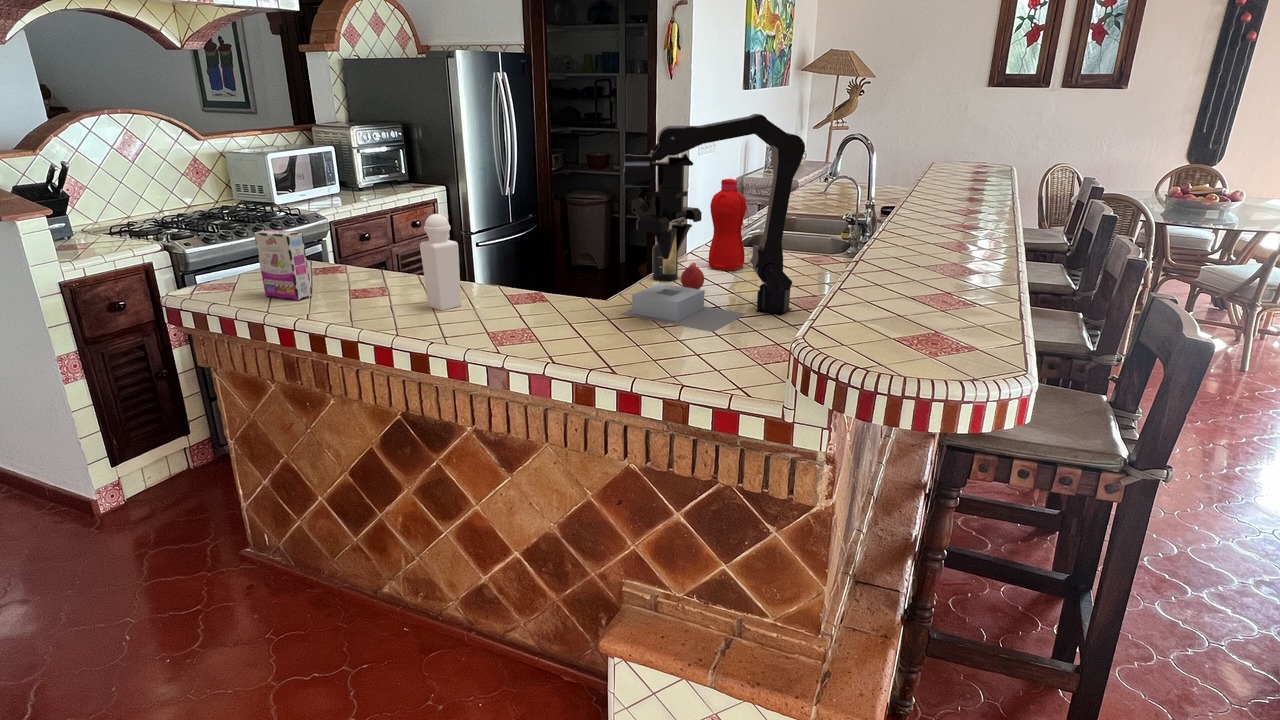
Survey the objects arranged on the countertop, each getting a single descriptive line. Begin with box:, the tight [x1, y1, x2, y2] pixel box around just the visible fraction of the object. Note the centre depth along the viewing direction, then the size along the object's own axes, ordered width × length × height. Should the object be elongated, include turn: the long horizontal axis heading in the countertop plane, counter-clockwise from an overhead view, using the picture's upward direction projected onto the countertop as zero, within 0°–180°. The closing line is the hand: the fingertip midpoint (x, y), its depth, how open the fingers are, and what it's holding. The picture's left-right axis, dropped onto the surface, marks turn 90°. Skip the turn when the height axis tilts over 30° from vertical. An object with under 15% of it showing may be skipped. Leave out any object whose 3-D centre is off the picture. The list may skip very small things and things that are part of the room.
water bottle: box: [707, 178, 750, 272], centre depth 209 cm, size 9×11×25 cm
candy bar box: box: [253, 229, 313, 301], centre depth 184 cm, size 11×5×16 cm, turn 68°
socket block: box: [631, 283, 705, 322], centre depth 170 cm, size 12×12×4 cm
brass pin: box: [663, 228, 677, 274], centre depth 166 cm, size 3×3×10 cm
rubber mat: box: [620, 305, 747, 333], centre depth 169 cm, size 24×16×1 cm, turn 56°
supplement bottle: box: [652, 237, 679, 282], centre depth 200 cm, size 7×7×12 cm
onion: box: [680, 261, 705, 290], centre depth 186 cm, size 6×6×8 cm
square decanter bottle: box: [419, 213, 462, 312], centre depth 174 cm, size 6×6×22 cm
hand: (669, 257), depth 166 cm, fingers closed on brass pin, 3 cm apart
